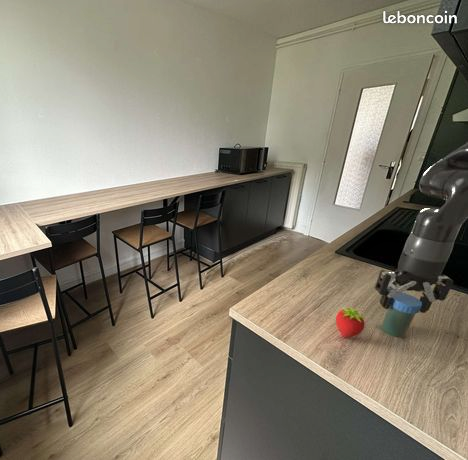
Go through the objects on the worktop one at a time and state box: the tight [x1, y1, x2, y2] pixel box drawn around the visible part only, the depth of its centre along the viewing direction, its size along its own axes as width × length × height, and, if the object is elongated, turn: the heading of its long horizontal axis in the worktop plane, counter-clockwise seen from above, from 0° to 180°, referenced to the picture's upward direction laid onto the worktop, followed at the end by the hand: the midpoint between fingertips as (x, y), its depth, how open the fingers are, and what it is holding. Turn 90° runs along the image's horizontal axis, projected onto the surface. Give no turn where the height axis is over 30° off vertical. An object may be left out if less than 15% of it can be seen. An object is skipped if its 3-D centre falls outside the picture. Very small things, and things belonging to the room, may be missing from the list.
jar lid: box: [390, 292, 422, 315], centre depth 64 cm, size 6×6×2 cm
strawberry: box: [335, 306, 367, 339], centre depth 65 cm, size 6×8×10 cm
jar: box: [380, 305, 416, 339], centre depth 66 cm, size 5×5×10 cm
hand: (402, 308), depth 65 cm, fingers open, 7 cm apart
